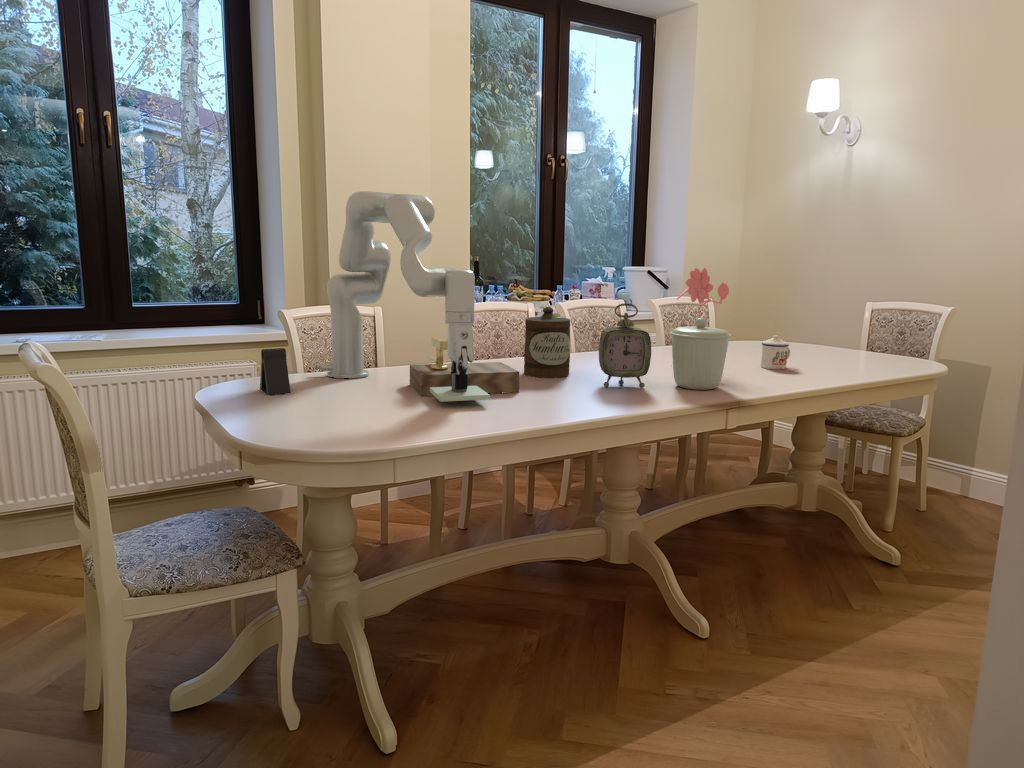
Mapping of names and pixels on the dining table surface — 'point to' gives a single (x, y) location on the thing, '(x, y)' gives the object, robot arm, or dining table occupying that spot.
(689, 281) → the pink paper flower
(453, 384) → the lid
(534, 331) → the wooden container
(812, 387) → the dining table surface
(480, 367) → the walnut case
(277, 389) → the black folding stand
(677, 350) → the canister
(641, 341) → the tabletop clock
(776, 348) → the teacup with lid
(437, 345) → the t-shaped display stand
